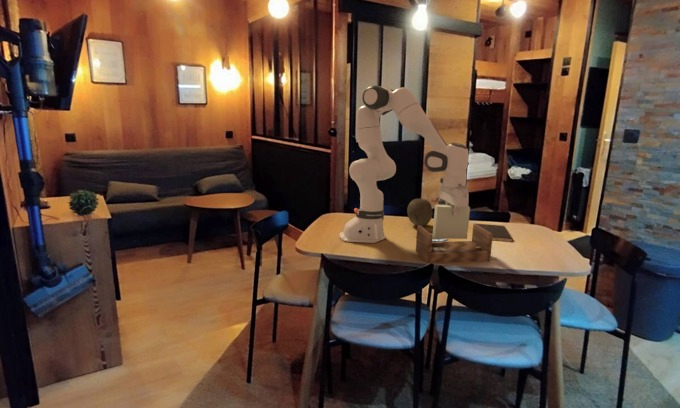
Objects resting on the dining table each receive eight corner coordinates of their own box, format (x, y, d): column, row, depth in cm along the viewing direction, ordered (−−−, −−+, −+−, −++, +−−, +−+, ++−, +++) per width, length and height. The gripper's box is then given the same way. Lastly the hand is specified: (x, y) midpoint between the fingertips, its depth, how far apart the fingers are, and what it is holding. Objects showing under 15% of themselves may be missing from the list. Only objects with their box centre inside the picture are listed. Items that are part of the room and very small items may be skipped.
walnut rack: (426, 263, 167) (428, 235, 164) (415, 250, 181) (417, 225, 179) (489, 261, 170) (492, 233, 168) (473, 249, 185) (476, 224, 182)
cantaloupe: (437, 227, 219) (439, 200, 216) (416, 230, 213) (418, 202, 210) (421, 221, 232) (423, 195, 228) (400, 223, 225) (402, 197, 222)
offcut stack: (433, 261, 169) (434, 244, 168) (430, 258, 173) (432, 242, 171) (478, 260, 172) (480, 243, 170) (475, 257, 175) (476, 241, 174)
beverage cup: (441, 218, 238) (444, 185, 234) (451, 221, 233) (454, 187, 228) (433, 220, 234) (436, 186, 229) (443, 223, 228) (446, 188, 224)
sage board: (434, 238, 175) (437, 206, 172) (432, 235, 179) (435, 204, 176) (466, 238, 176) (470, 207, 172) (463, 236, 179) (467, 205, 176)
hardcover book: (478, 239, 201) (478, 235, 201) (473, 227, 223) (474, 223, 222) (512, 242, 198) (513, 238, 197) (504, 229, 220) (505, 225, 219)
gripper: (474, 186, 162) (470, 220, 166) (450, 177, 182) (448, 207, 185) (459, 186, 161) (456, 220, 164) (437, 177, 181) (435, 208, 184)
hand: (451, 213), depth 175 cm, fingers closed on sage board, 4 cm apart
